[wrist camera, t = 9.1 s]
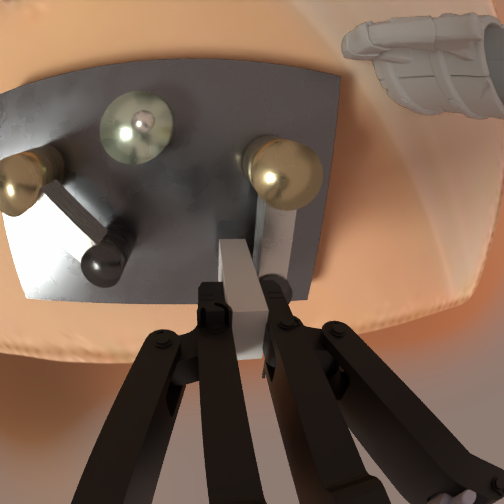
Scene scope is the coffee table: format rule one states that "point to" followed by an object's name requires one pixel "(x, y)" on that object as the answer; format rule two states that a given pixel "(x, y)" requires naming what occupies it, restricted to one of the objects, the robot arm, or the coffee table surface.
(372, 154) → the coffee table surface
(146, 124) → the control panel
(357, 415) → the robot arm
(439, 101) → the mug
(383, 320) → the coffee table surface
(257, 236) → the knob right
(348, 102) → the coffee table surface
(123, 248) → the knob left
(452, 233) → the coffee table surface
